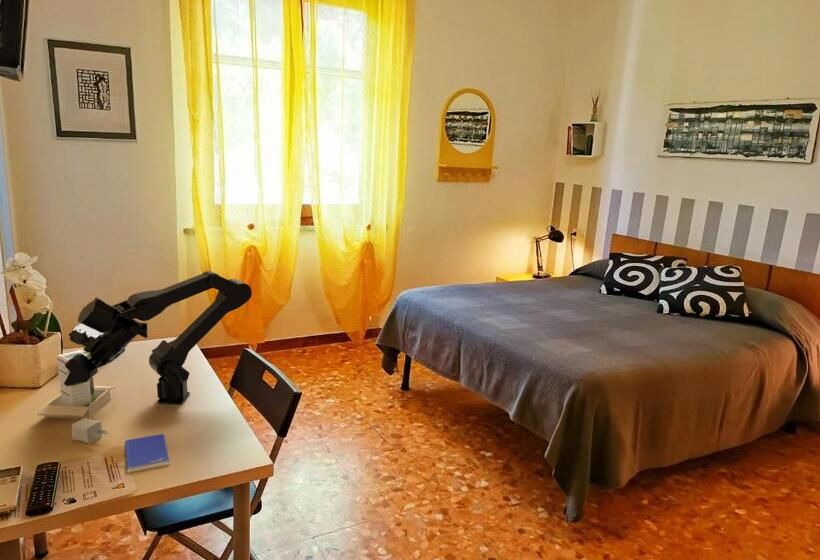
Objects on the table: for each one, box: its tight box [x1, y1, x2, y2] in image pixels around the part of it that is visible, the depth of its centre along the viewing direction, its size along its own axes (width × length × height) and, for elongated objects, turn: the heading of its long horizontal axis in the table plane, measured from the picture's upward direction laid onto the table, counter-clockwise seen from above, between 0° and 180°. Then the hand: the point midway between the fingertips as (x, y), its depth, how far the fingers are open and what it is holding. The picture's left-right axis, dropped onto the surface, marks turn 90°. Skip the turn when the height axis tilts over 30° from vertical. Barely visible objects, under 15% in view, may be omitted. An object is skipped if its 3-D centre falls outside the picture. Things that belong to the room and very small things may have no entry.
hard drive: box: [124, 433, 171, 473], centre depth 124 cm, size 2×8×12 cm
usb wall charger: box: [71, 418, 108, 444], centre depth 128 cm, size 4×7×4 cm, turn 71°
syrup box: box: [56, 349, 95, 406], centre depth 141 cm, size 6×6×14 cm
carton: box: [36, 385, 116, 420], centre depth 142 cm, size 11×16×3 cm, turn 2°
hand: (74, 378), depth 140 cm, fingers closed on syrup box, 8 cm apart
